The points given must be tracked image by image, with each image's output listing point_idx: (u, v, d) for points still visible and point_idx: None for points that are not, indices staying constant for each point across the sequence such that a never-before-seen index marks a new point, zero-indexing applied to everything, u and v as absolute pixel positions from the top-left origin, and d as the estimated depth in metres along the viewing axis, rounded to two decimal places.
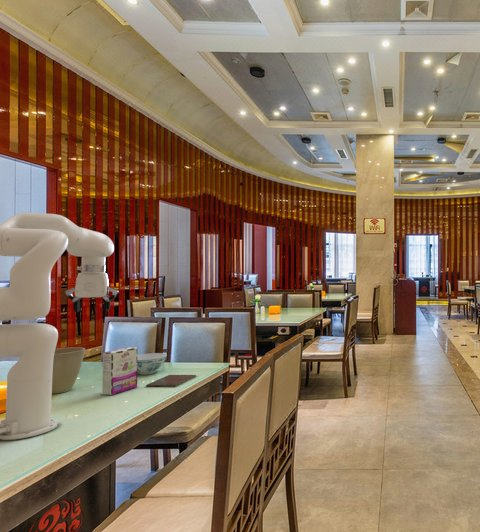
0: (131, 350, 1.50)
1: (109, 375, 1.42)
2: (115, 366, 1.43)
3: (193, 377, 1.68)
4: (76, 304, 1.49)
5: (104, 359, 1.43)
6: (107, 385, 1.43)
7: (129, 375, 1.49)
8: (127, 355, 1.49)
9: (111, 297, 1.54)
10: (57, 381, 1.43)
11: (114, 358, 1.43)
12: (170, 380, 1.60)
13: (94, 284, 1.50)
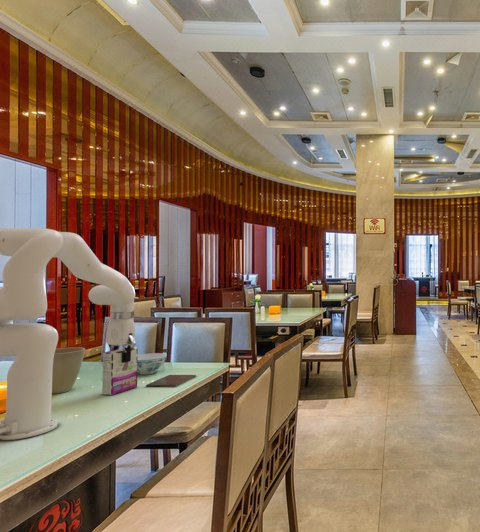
0: None
1: (109, 375, 1.42)
2: (115, 366, 1.43)
3: (193, 377, 1.68)
4: None
5: (104, 359, 1.43)
6: (107, 385, 1.43)
7: (129, 375, 1.49)
8: None
9: (127, 348, 1.46)
10: (57, 381, 1.43)
11: (114, 358, 1.43)
12: (170, 380, 1.60)
13: (116, 332, 1.45)
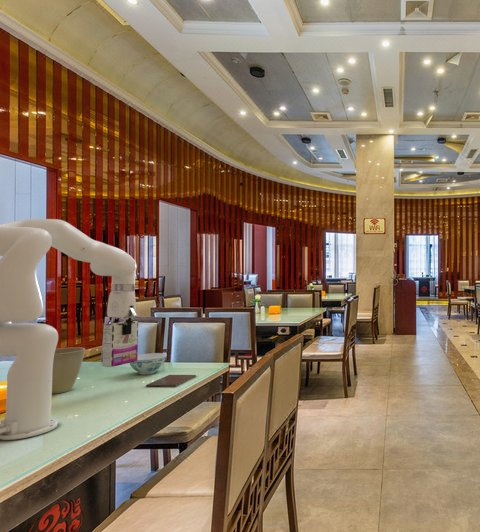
0: None
1: (110, 346, 1.42)
2: (115, 338, 1.43)
3: (193, 377, 1.68)
4: None
5: (104, 330, 1.43)
6: (107, 357, 1.42)
7: (129, 349, 1.49)
8: None
9: (128, 320, 1.46)
10: (57, 381, 1.43)
11: (115, 329, 1.43)
12: (170, 380, 1.60)
13: (117, 304, 1.46)
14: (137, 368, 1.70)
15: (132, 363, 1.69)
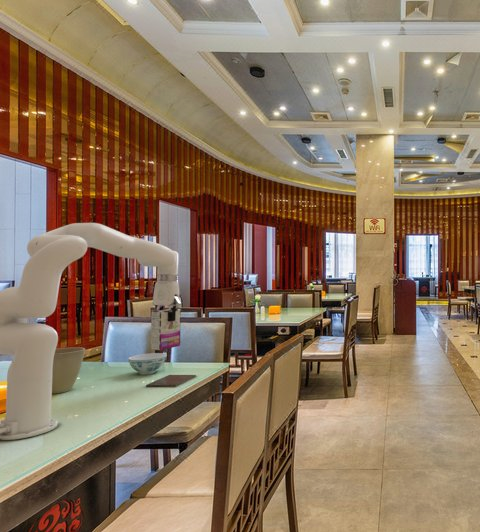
0: None
1: (157, 332, 1.55)
2: (162, 323, 1.56)
3: (193, 377, 1.68)
4: None
5: (152, 317, 1.55)
6: (155, 341, 1.55)
7: (173, 334, 1.61)
8: None
9: (173, 308, 1.58)
10: (57, 381, 1.43)
11: (162, 316, 1.55)
12: (170, 380, 1.60)
13: (163, 293, 1.58)
14: (137, 368, 1.70)
15: (132, 363, 1.69)
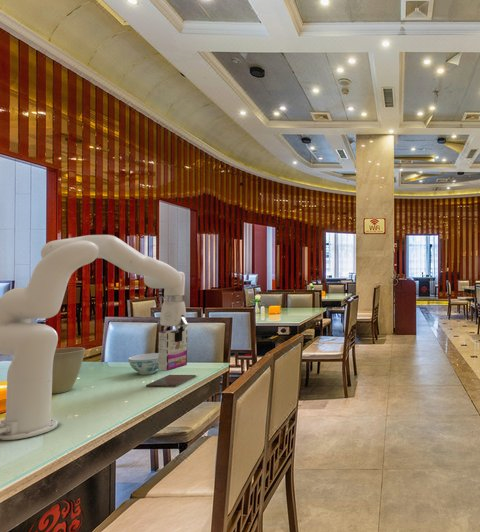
0: None
1: (165, 352, 1.56)
2: (169, 344, 1.57)
3: (193, 377, 1.68)
4: None
5: (159, 338, 1.57)
6: (162, 362, 1.57)
7: (180, 354, 1.63)
8: None
9: (180, 328, 1.60)
10: (57, 381, 1.43)
11: (169, 337, 1.57)
12: (170, 380, 1.60)
13: (170, 314, 1.59)
14: (137, 368, 1.70)
15: (132, 363, 1.69)
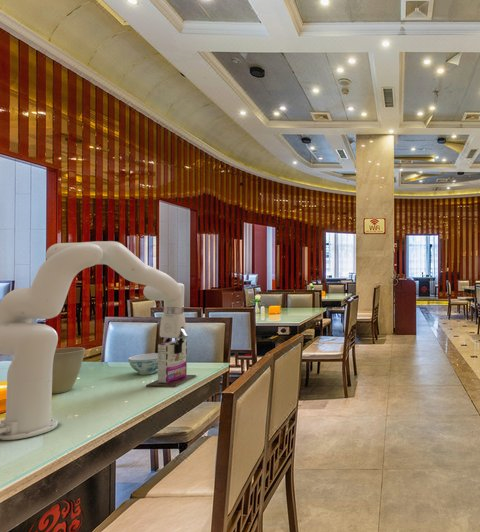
0: None
1: (164, 365, 1.56)
2: (169, 356, 1.57)
3: (193, 377, 1.68)
4: None
5: (159, 350, 1.57)
6: (162, 374, 1.56)
7: (180, 365, 1.63)
8: None
9: (179, 340, 1.60)
10: (57, 381, 1.43)
11: (168, 349, 1.57)
12: None
13: (170, 326, 1.59)
14: (137, 368, 1.70)
15: (132, 363, 1.69)
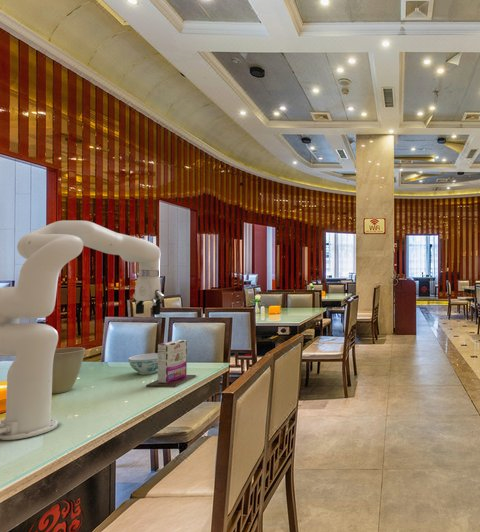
0: (182, 342, 1.64)
1: (164, 365, 1.56)
2: (169, 356, 1.57)
3: (193, 377, 1.68)
4: (137, 306, 1.61)
5: (159, 350, 1.57)
6: (162, 374, 1.56)
7: (180, 365, 1.63)
8: (179, 347, 1.62)
9: (157, 301, 1.57)
10: (57, 381, 1.43)
11: (168, 349, 1.57)
12: None
13: (144, 288, 1.57)
14: (137, 368, 1.70)
15: (132, 363, 1.69)
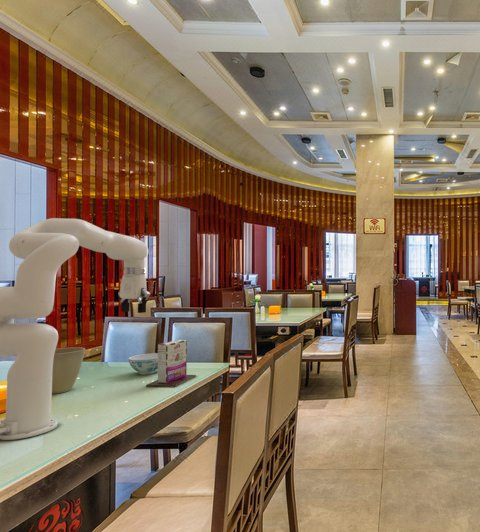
0: (182, 342, 1.64)
1: (164, 365, 1.56)
2: (169, 356, 1.57)
3: (193, 377, 1.68)
4: (122, 305, 1.59)
5: (159, 350, 1.57)
6: (162, 374, 1.56)
7: (180, 365, 1.63)
8: (179, 347, 1.62)
9: (143, 299, 1.56)
10: (57, 381, 1.43)
11: (168, 349, 1.57)
12: None
13: (130, 286, 1.56)
14: (137, 368, 1.70)
15: (132, 363, 1.69)
